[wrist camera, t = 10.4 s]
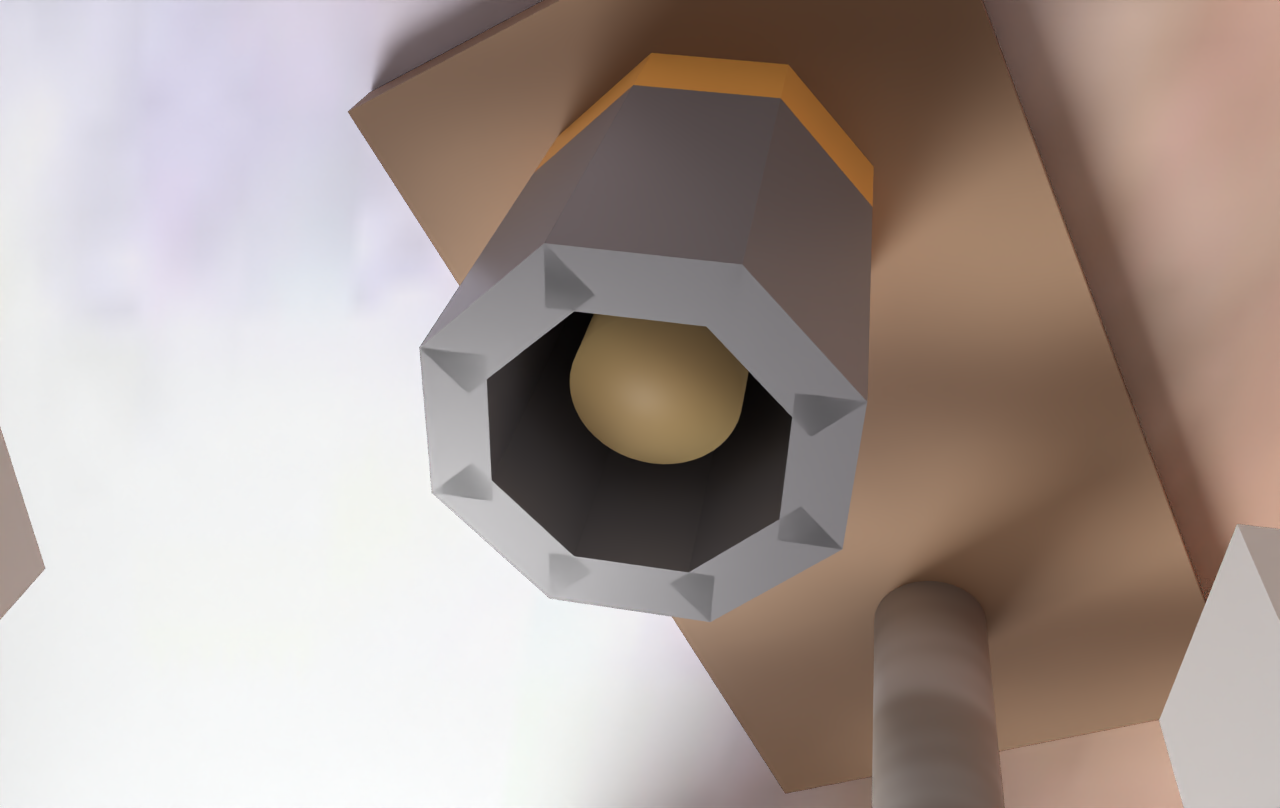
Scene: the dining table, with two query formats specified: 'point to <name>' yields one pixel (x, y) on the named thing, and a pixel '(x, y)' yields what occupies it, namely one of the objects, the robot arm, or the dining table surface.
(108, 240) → the dining table surface
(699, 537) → the sleeve
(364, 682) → the dining table surface
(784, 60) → the pin board
